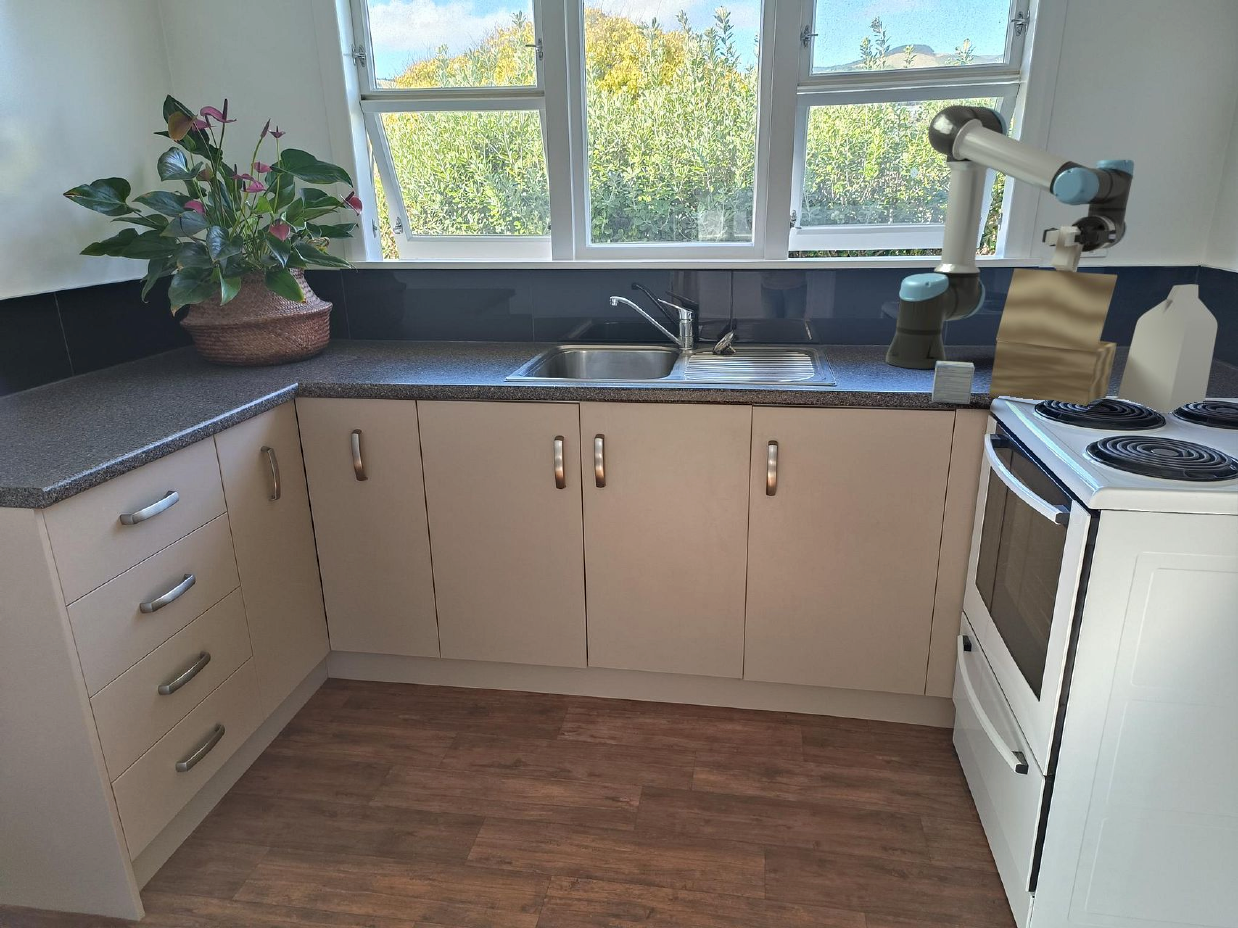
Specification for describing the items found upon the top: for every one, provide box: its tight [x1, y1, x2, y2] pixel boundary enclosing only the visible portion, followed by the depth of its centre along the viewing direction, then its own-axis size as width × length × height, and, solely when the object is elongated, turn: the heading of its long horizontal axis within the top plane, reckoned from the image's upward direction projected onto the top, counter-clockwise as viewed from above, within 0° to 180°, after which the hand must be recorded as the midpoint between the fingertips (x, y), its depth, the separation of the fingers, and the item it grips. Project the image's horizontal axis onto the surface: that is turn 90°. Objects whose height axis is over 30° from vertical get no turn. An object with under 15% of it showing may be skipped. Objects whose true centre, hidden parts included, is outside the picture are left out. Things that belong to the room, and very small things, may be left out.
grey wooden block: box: [931, 360, 975, 405], centre depth 180 cm, size 8×4×9 cm, turn 71°
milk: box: [1116, 283, 1218, 415], centre depth 173 cm, size 12×12×26 cm
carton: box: [988, 340, 1118, 406], centre depth 181 cm, size 16×20×13 cm
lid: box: [995, 225, 1118, 353], centre depth 171 cm, size 24×20×8 cm
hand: (1057, 238), depth 164 cm, fingers closed on lid, 3 cm apart
